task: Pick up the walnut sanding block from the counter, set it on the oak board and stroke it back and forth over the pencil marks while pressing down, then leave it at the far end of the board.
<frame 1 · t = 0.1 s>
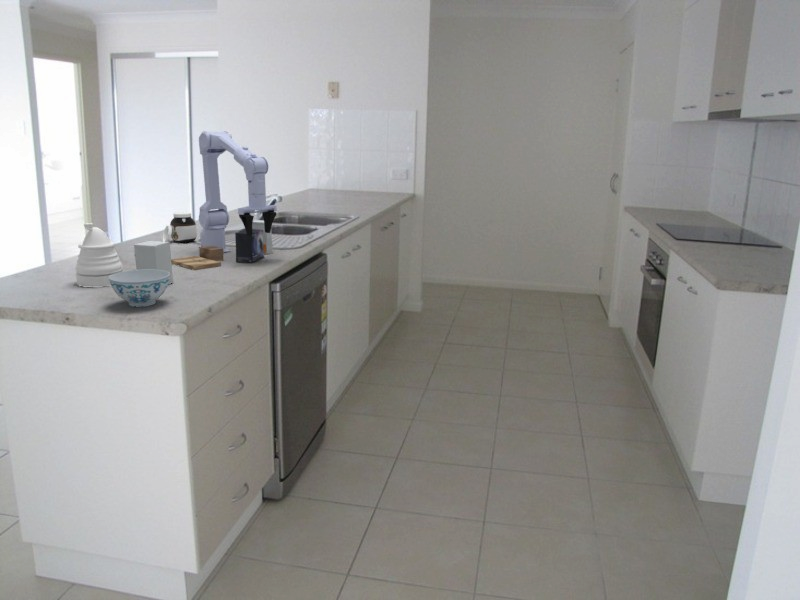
hand: (258, 233, 227), 10 cm above the worktop, tool pointing down, fingers open, 7 cm apart
supplement box: (155, 285, 196), on the worktop
spread jar: (179, 242, 267), on the worktop
small box: (250, 260, 234), on the worktop
board: (194, 264, 225), on the worktop
sanding block: (211, 260, 233), on the worktop
chinaware: (142, 304, 176), on the worktop
skincare box: (262, 253, 247), on the worktop
honey pot: (101, 283, 198), on the worktop
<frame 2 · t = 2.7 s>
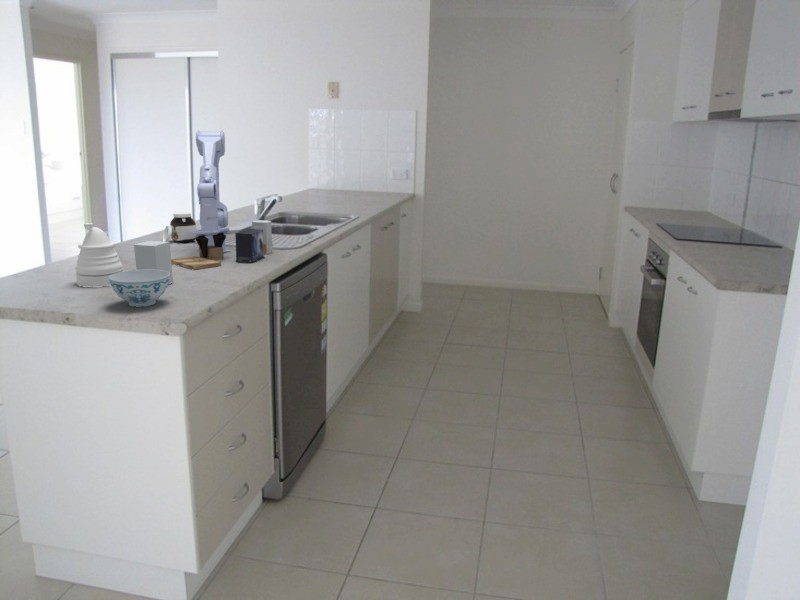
hand: (211, 255, 233), 1 cm above the worktop, tool pointing down, fingers closed on sanding block, 4 cm apart
sanding block: (211, 259, 233), on the worktop, touching gripper
everything else where it was.
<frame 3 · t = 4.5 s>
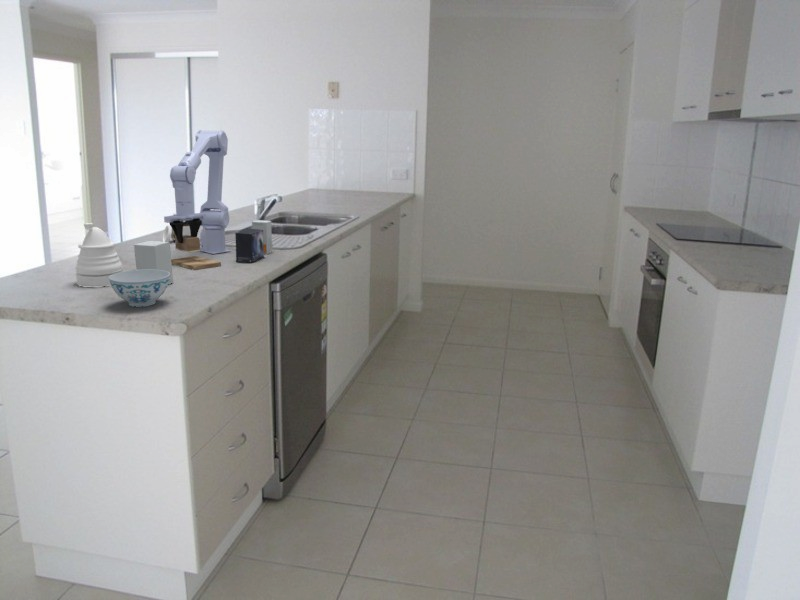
hand: (187, 241, 226), 7 cm above the worktop, tool pointing down, fingers closed on sanding block, 4 cm apart
sanding block: (187, 250, 227), point 4 cm above the worktop, touching gripper
everything else where it was.
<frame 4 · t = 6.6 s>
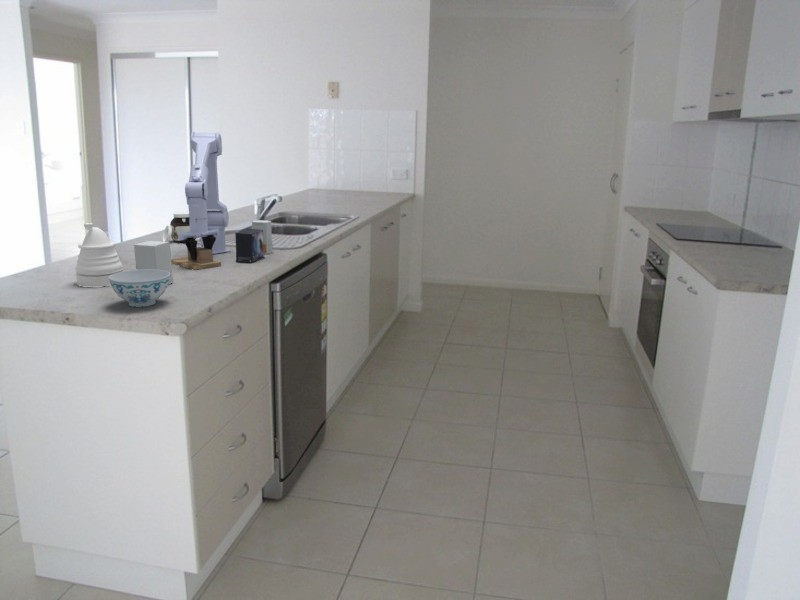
hand: (200, 258, 222), 2 cm above the worktop, tool pointing down, fingers closed on sanding block, 4 cm apart
sanding block: (200, 262, 223), point 1 cm above the worktop, touching board, gripper
everything else where it was.
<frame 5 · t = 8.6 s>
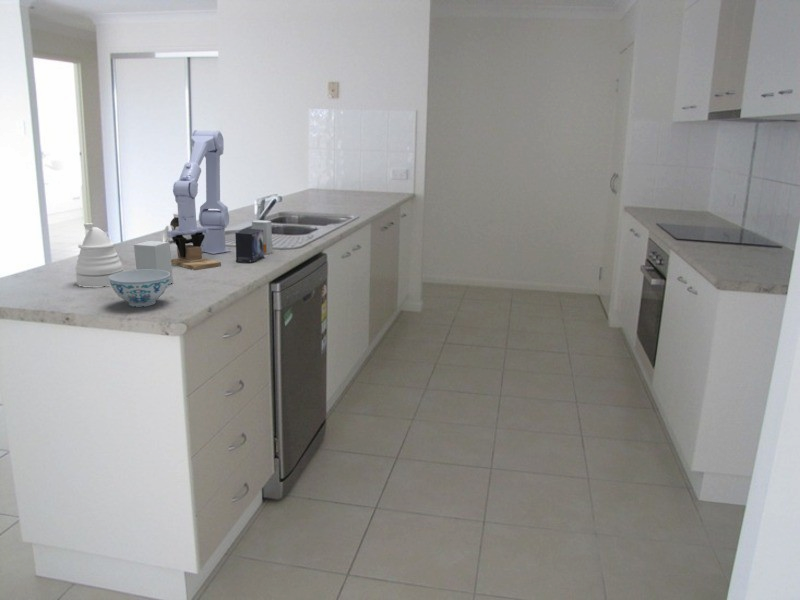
hand: (189, 256, 226), 3 cm above the worktop, tool pointing down, fingers closed on sanding block, 4 cm apart
sanding block: (190, 259, 227), point 1 cm above the worktop, touching gripper
everything else where it was.
when the fingers open (2 cm above the worktop, at t = 10.2 s): sanding block stays where it is, resting on board.
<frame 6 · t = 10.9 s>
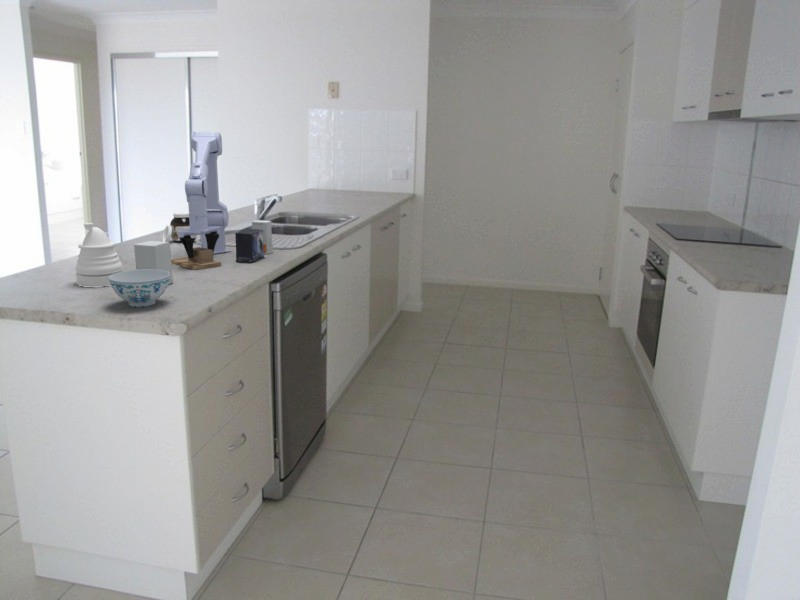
hand: (200, 256, 222), 3 cm above the worktop, tool pointing down, fingers open, 7 cm apart
sanding block: (201, 262, 222), point 1 cm above the worktop, touching board
everything else where it was.
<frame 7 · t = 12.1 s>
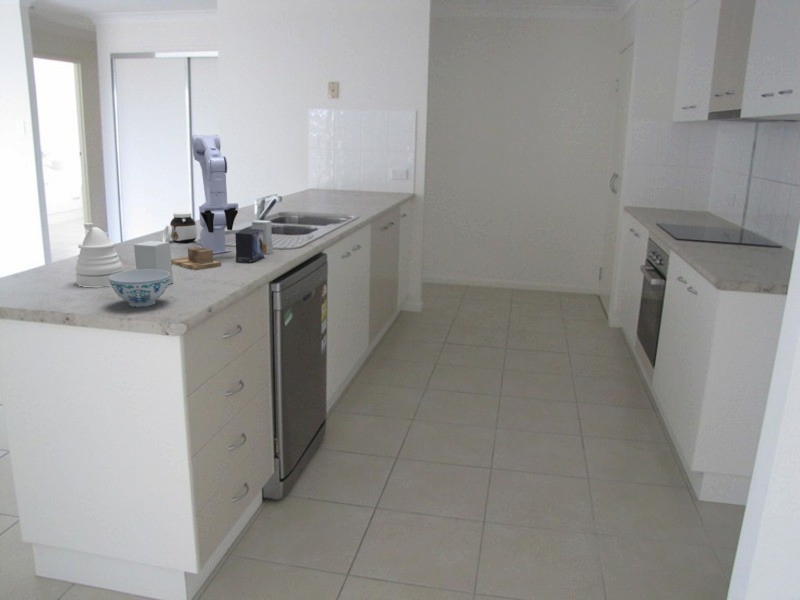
hand: (220, 231, 233), 10 cm above the worktop, tool pointing down, fingers open, 7 cm apart
nothing on the worktop moved.
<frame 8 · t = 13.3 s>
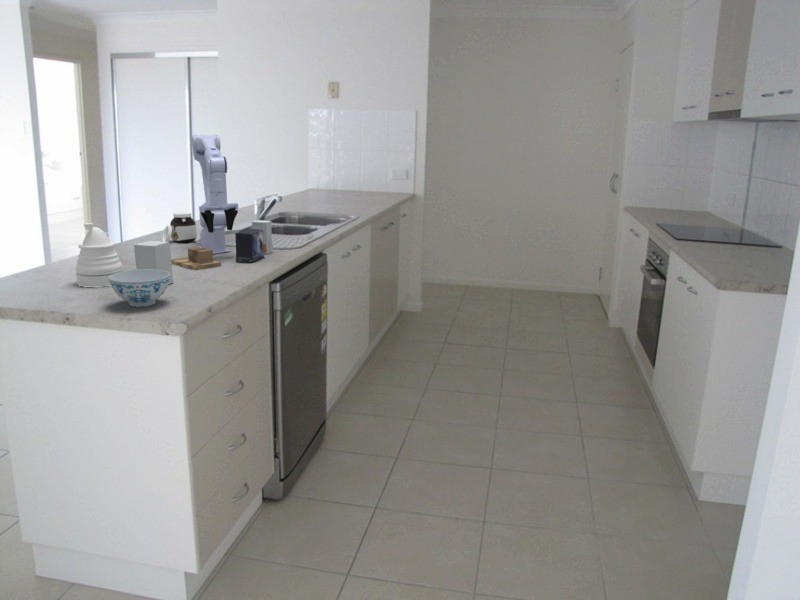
hand: (220, 231, 233), 10 cm above the worktop, tool pointing down, fingers open, 7 cm apart
nothing on the worktop moved.
at the end: sanding block inside the target area on the board (0.3 cm from its centre), point 1.2 cm above the board's base; sanding block tilted 0°; the gripper is holding nothing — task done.
